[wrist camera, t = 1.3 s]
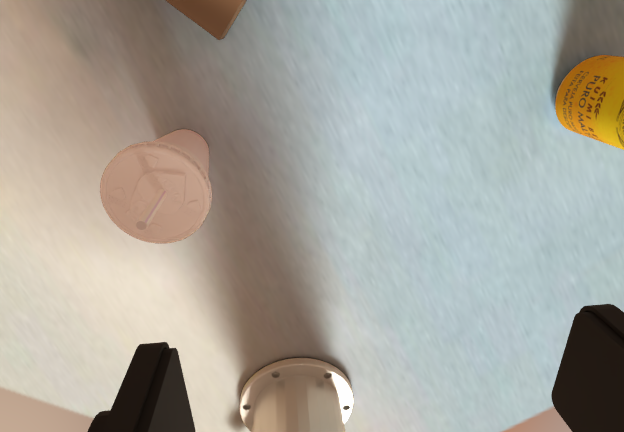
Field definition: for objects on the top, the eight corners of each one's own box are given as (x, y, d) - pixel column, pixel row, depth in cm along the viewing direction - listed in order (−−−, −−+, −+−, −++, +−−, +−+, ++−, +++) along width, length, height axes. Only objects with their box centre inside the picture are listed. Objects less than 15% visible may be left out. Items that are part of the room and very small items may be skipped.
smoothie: (242, 159, 34) (224, 240, 21) (184, 202, 35) (134, 304, 22) (188, 94, 31) (131, 143, 19) (127, 144, 32) (34, 221, 20)
